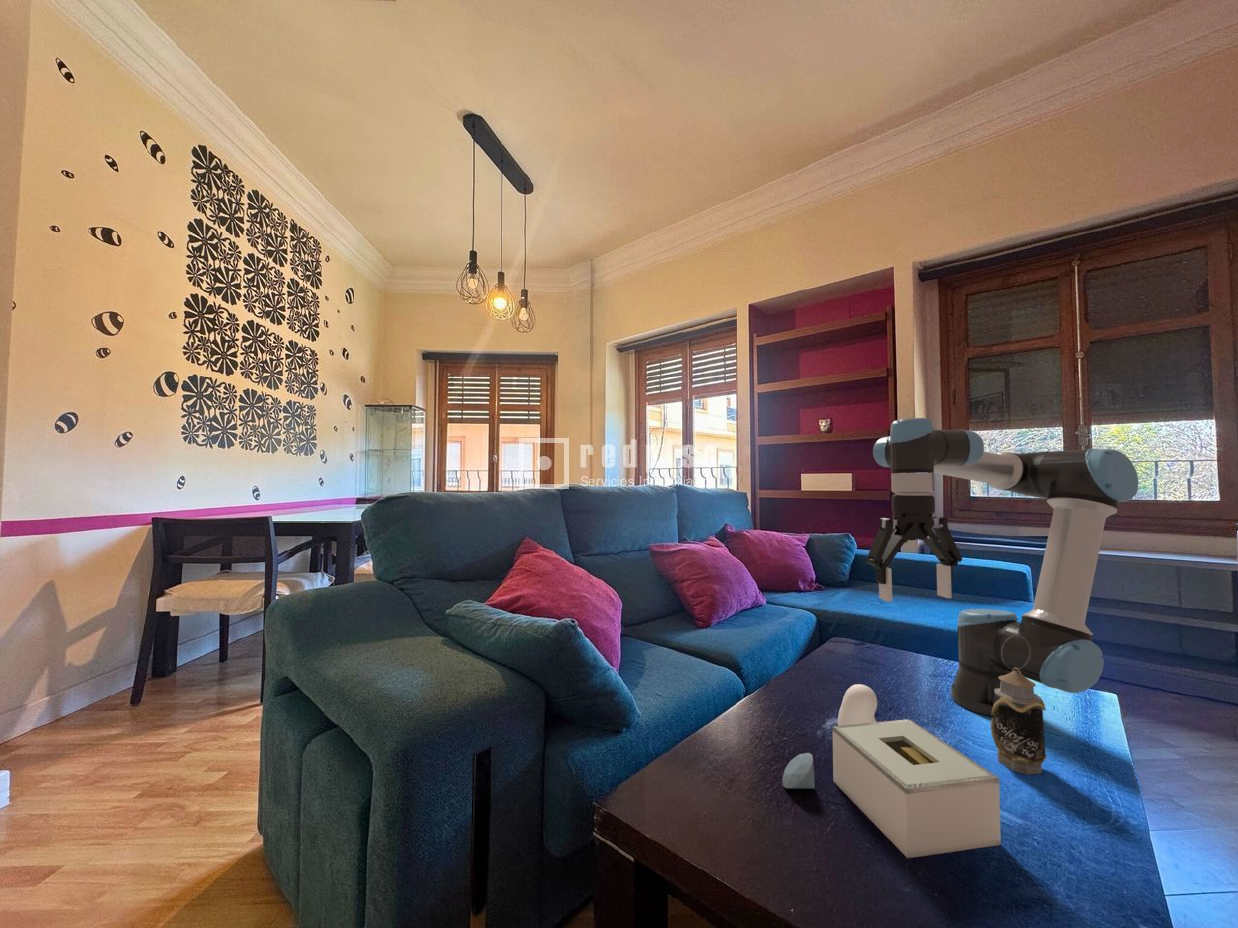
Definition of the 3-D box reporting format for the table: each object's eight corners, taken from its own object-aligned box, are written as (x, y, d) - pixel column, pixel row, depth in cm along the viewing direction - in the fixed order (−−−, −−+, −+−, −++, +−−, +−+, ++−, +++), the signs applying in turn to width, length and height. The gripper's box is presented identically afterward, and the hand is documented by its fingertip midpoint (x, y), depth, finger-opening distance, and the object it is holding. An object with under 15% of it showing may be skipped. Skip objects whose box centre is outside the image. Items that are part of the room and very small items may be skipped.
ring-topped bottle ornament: (1019, 779, 88) (1016, 643, 89) (980, 754, 96) (977, 629, 97) (1059, 774, 89) (1055, 640, 90) (1017, 750, 97) (1013, 627, 98)
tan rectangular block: (906, 791, 83) (914, 747, 82) (930, 814, 78) (939, 767, 77) (892, 791, 82) (900, 747, 82) (915, 814, 77) (924, 767, 77)
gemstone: (830, 763, 88) (809, 741, 89) (830, 793, 81) (807, 769, 82) (800, 783, 90) (780, 761, 91) (798, 814, 83) (776, 790, 85)
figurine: (883, 753, 96) (882, 693, 97) (842, 749, 98) (842, 690, 98) (871, 735, 103) (870, 679, 103) (834, 731, 105) (833, 676, 105)
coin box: (910, 772, 90) (909, 719, 90) (1000, 844, 72) (999, 777, 73) (833, 781, 87) (832, 726, 88) (907, 858, 70) (906, 788, 70)
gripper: (949, 492, 103) (952, 591, 102) (846, 494, 99) (848, 596, 98) (981, 493, 96) (984, 599, 95) (870, 495, 91) (873, 606, 91)
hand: (915, 598), depth 97 cm, fingers open, 13 cm apart
